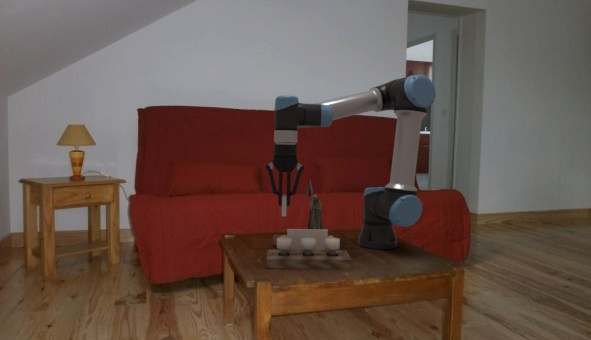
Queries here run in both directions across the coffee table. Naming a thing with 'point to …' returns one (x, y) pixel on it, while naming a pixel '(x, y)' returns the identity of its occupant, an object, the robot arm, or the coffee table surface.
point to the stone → (276, 238)
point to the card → (301, 233)
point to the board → (308, 260)
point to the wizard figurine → (314, 210)
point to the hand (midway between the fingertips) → (283, 215)
